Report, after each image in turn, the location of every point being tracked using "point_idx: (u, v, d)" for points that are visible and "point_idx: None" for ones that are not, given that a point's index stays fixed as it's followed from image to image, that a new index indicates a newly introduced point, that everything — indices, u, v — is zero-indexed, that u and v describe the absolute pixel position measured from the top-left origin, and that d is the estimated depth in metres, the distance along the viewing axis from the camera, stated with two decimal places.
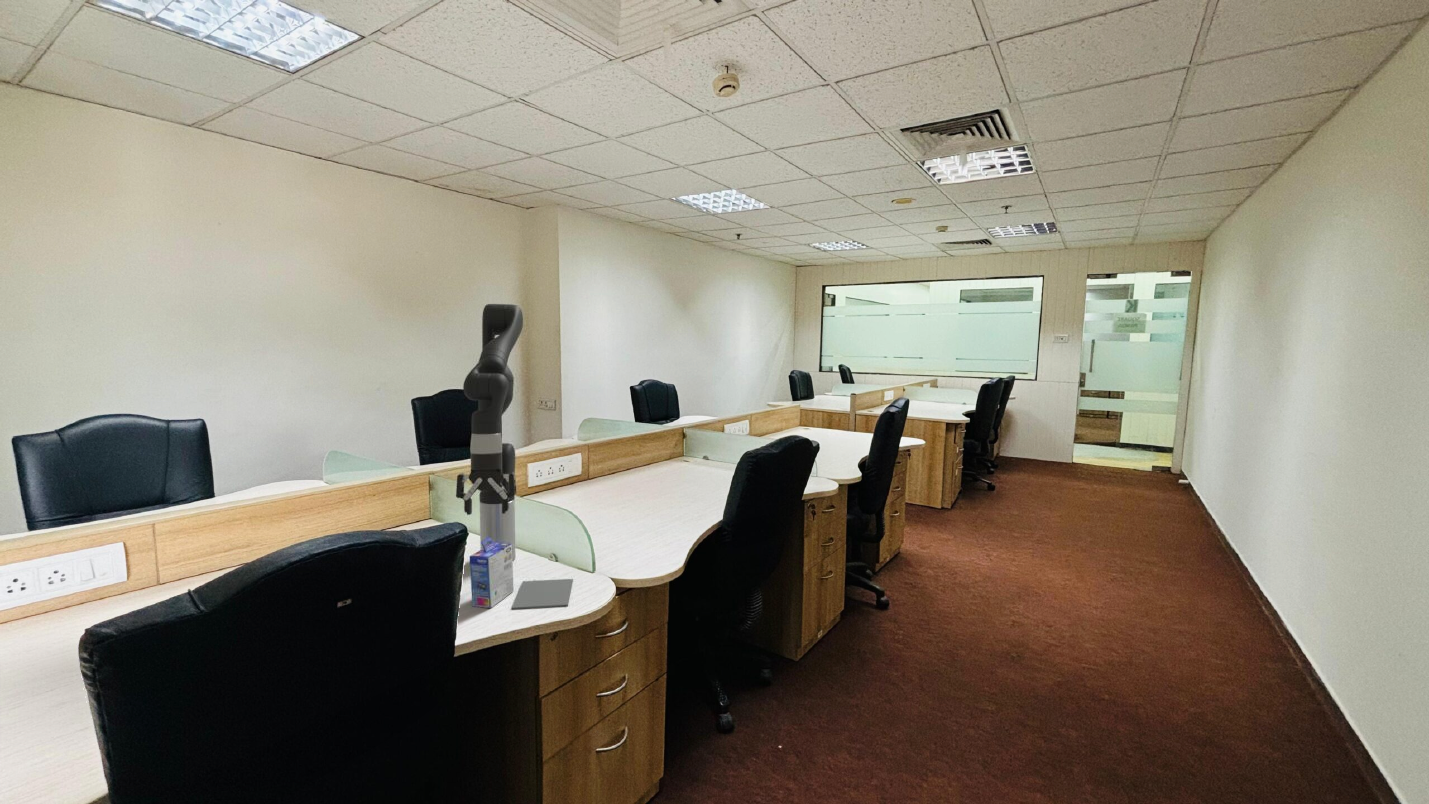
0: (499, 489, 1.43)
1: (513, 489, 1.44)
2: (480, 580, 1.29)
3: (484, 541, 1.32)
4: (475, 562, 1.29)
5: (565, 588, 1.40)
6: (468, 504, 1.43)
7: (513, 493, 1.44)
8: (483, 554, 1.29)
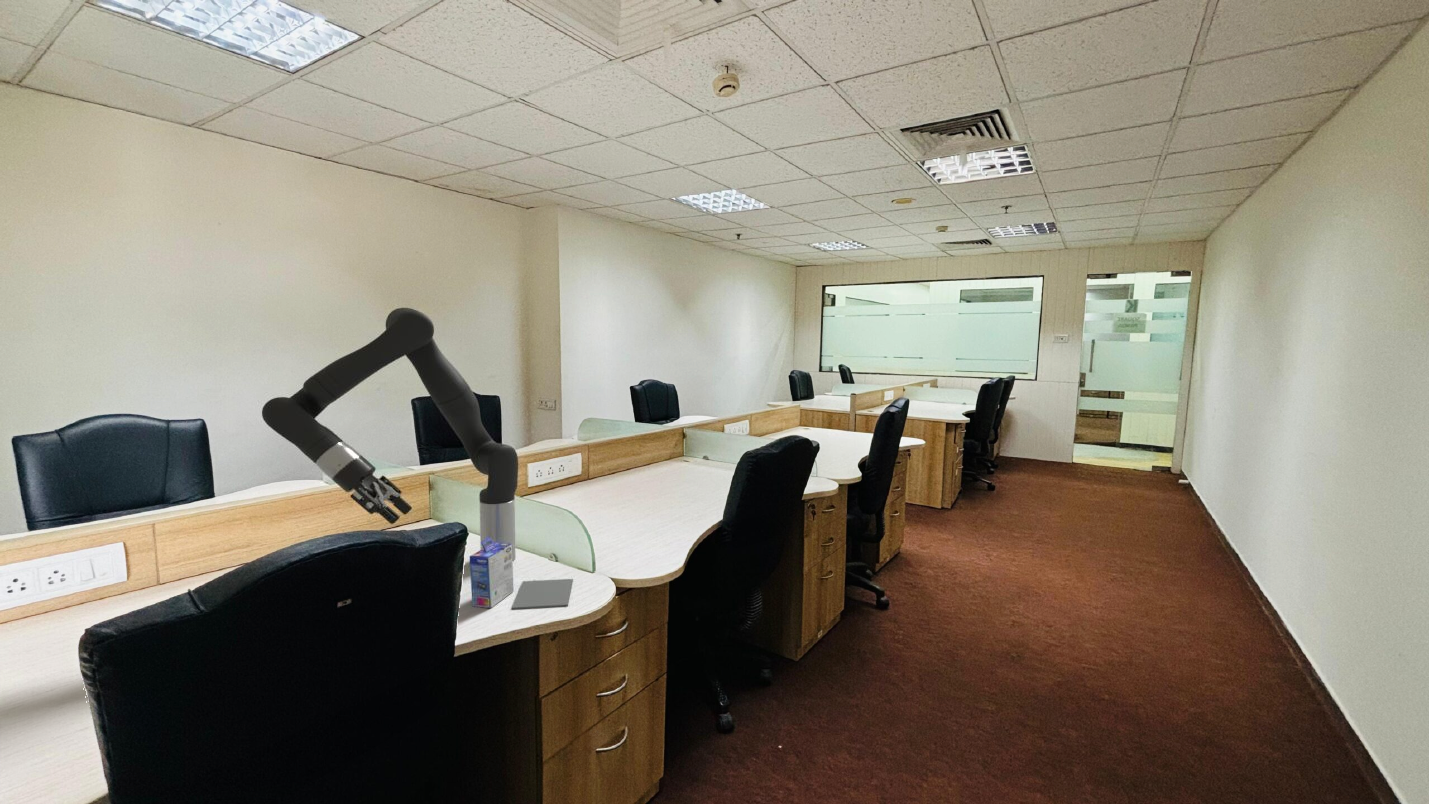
0: None
1: None
2: (480, 580, 1.29)
3: (484, 541, 1.32)
4: (475, 562, 1.29)
5: (565, 588, 1.40)
6: None
7: None
8: (483, 554, 1.29)
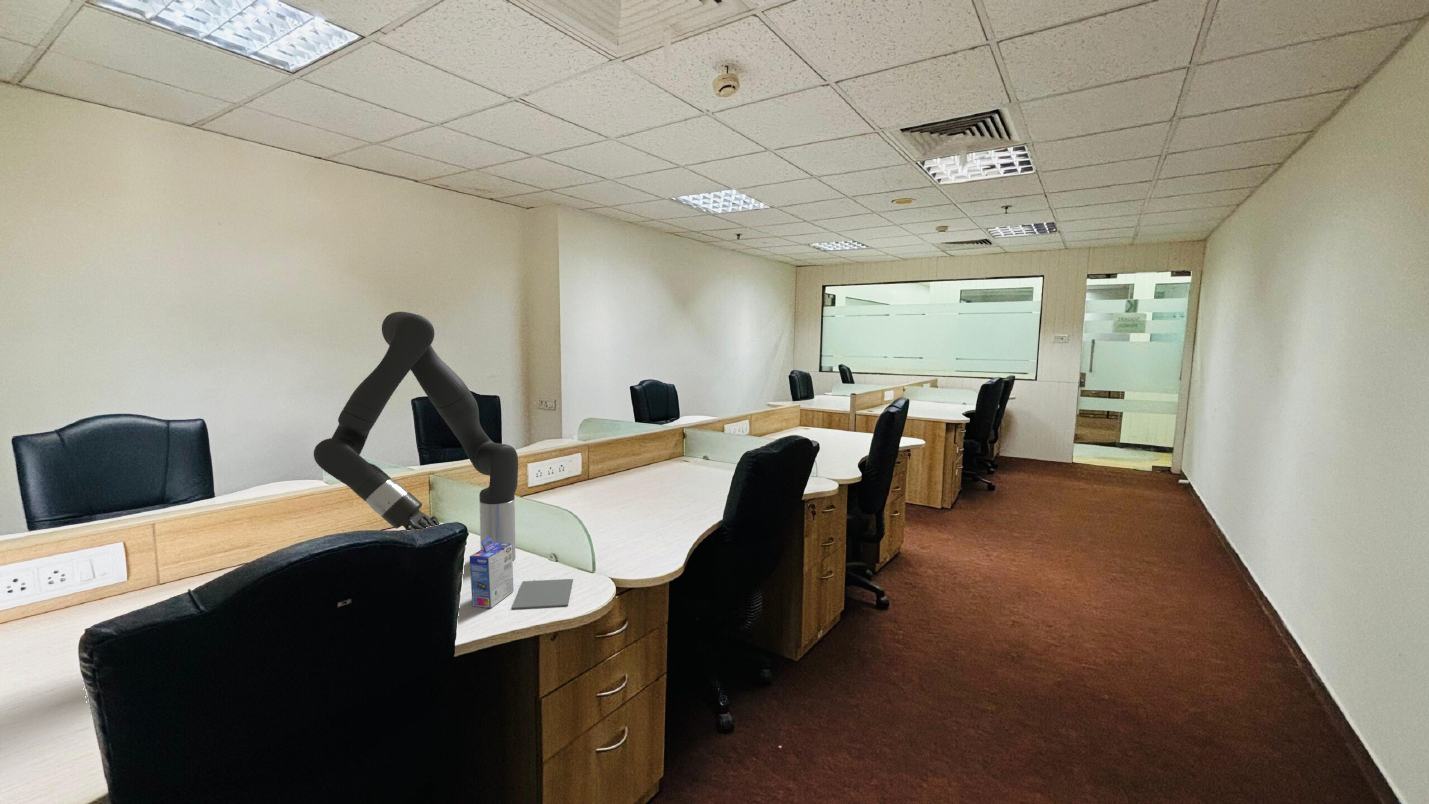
0: None
1: None
2: (480, 580, 1.29)
3: (484, 541, 1.32)
4: (475, 562, 1.29)
5: (565, 588, 1.40)
6: None
7: None
8: (484, 554, 1.29)
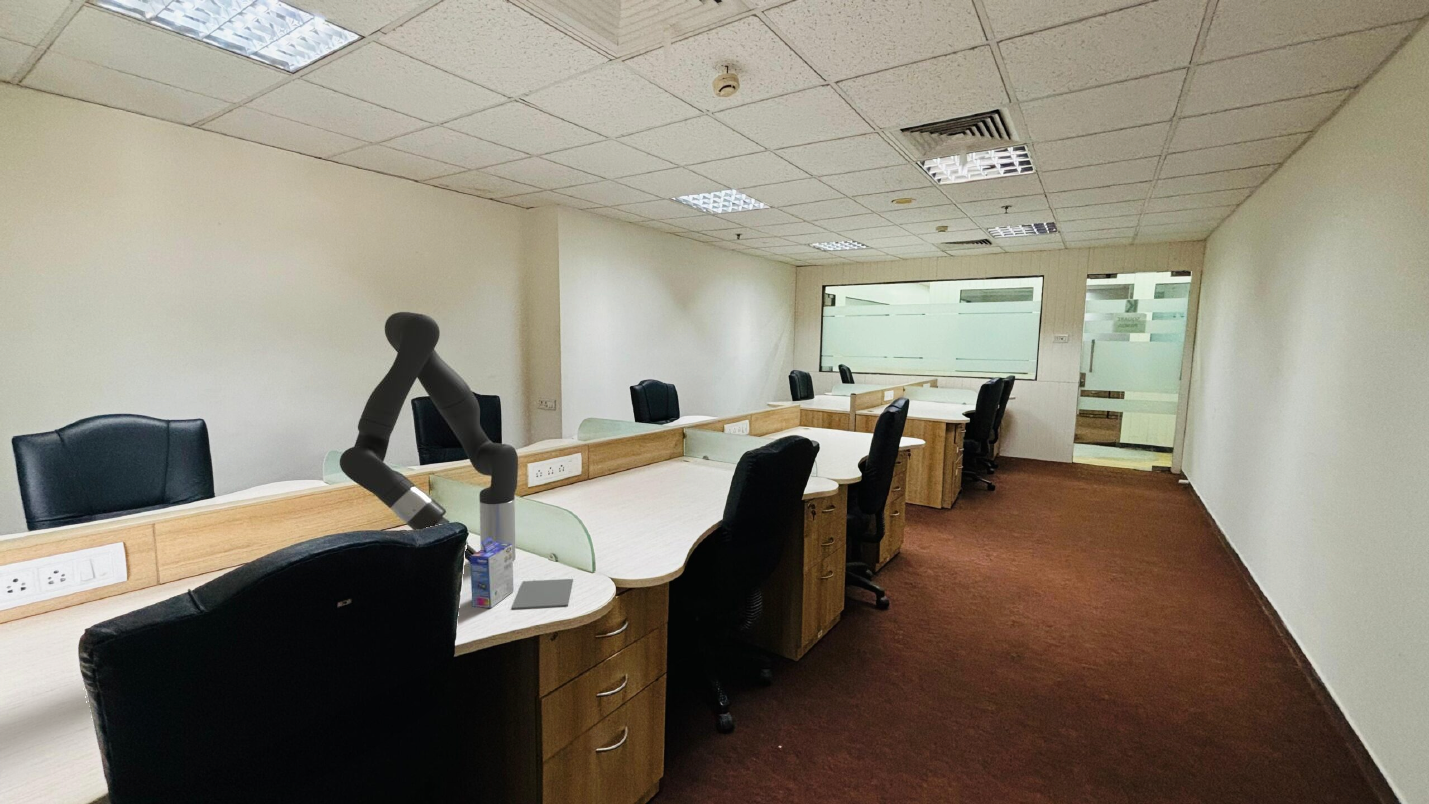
0: None
1: None
2: (480, 580, 1.29)
3: (484, 541, 1.32)
4: (476, 562, 1.29)
5: (565, 588, 1.40)
6: None
7: None
8: (484, 554, 1.29)
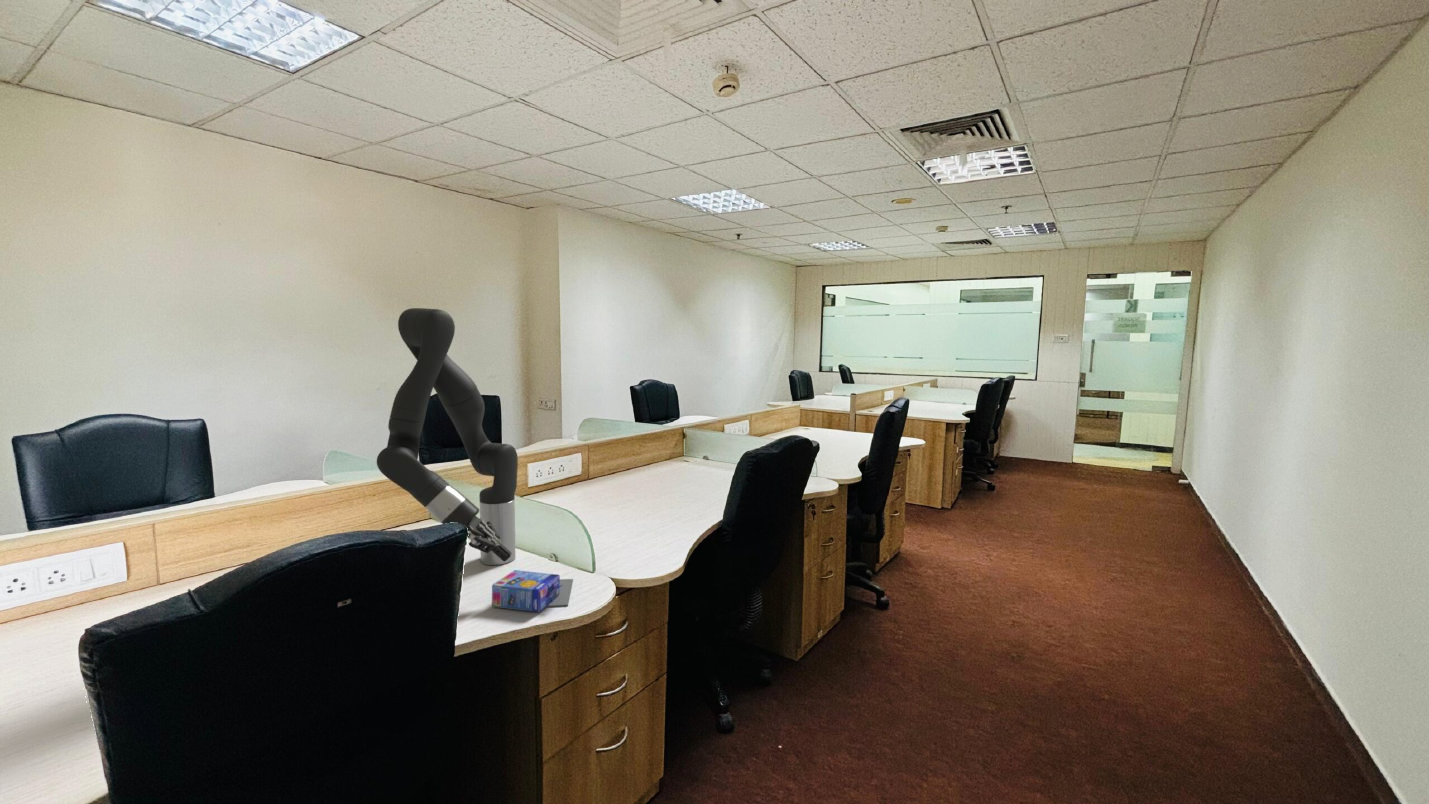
0: None
1: None
2: (517, 600, 1.27)
3: (556, 590, 1.30)
4: (534, 597, 1.26)
5: (565, 588, 1.40)
6: None
7: None
8: (542, 601, 1.27)
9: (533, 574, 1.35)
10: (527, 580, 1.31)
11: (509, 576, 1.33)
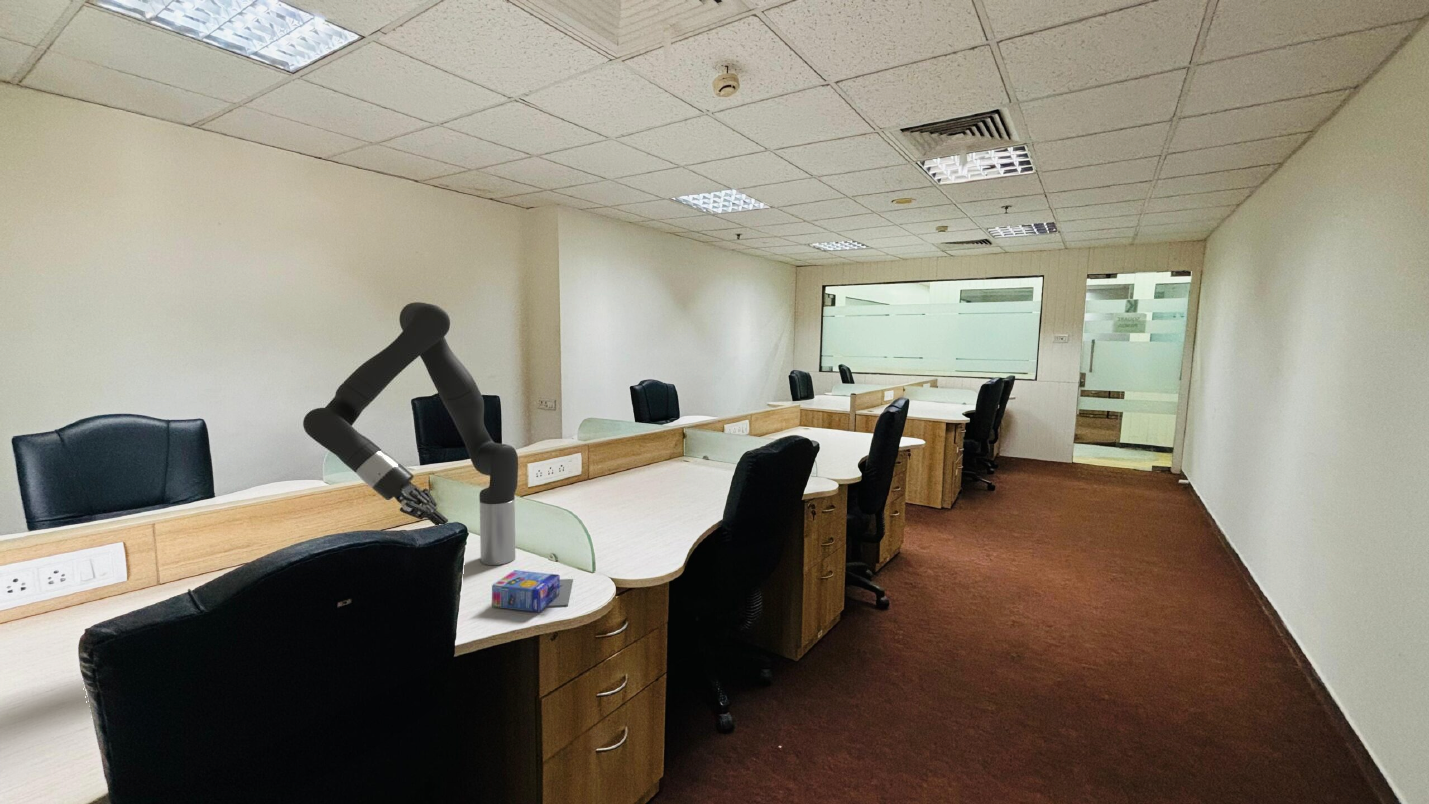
0: None
1: None
2: (517, 600, 1.27)
3: (556, 590, 1.30)
4: (534, 597, 1.26)
5: (565, 588, 1.40)
6: None
7: None
8: (542, 601, 1.27)
9: (533, 574, 1.35)
10: (527, 580, 1.31)
11: (509, 576, 1.33)
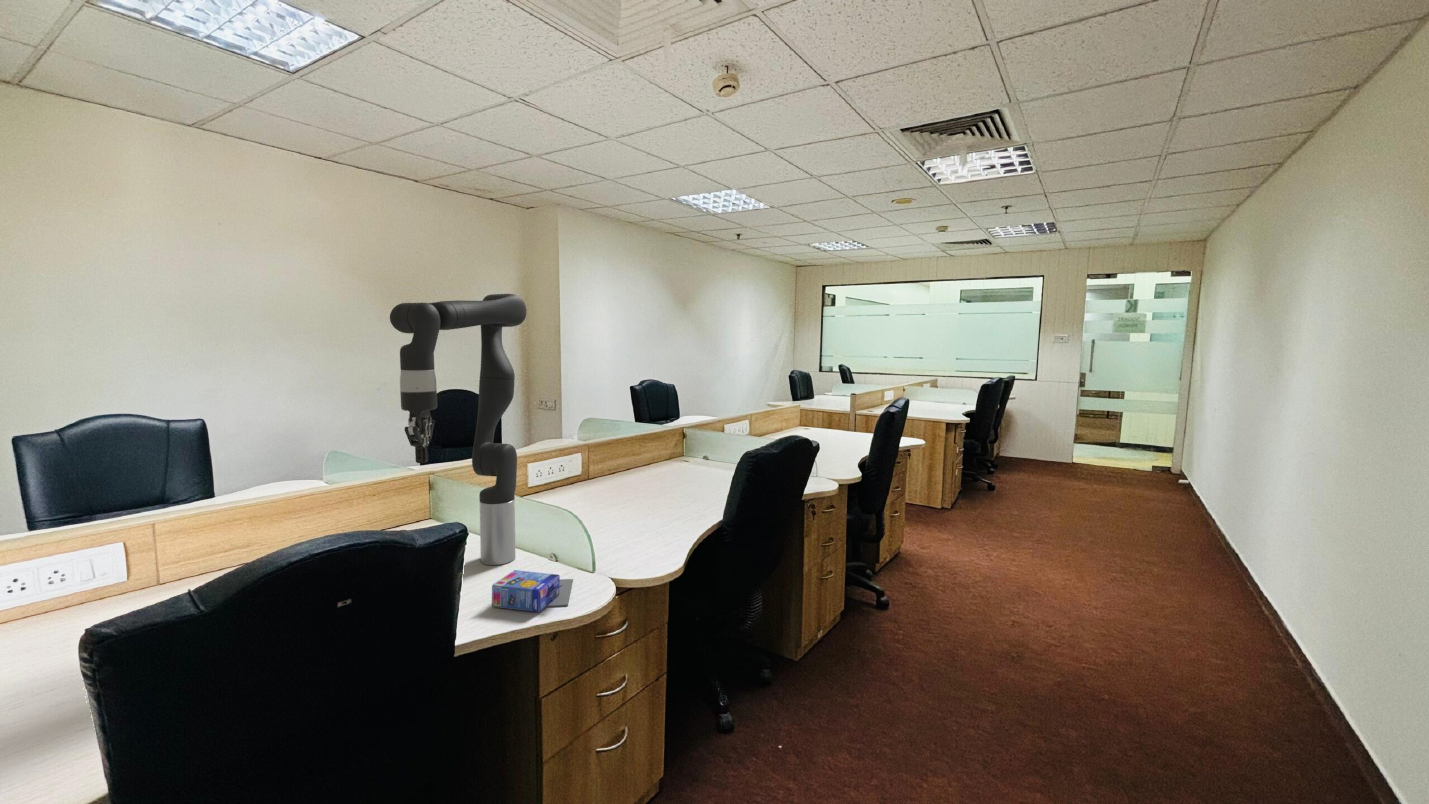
0: None
1: None
2: (517, 600, 1.27)
3: (556, 590, 1.30)
4: (534, 597, 1.26)
5: (565, 588, 1.40)
6: None
7: None
8: (542, 601, 1.27)
9: (533, 574, 1.35)
10: (527, 580, 1.31)
11: (509, 576, 1.33)
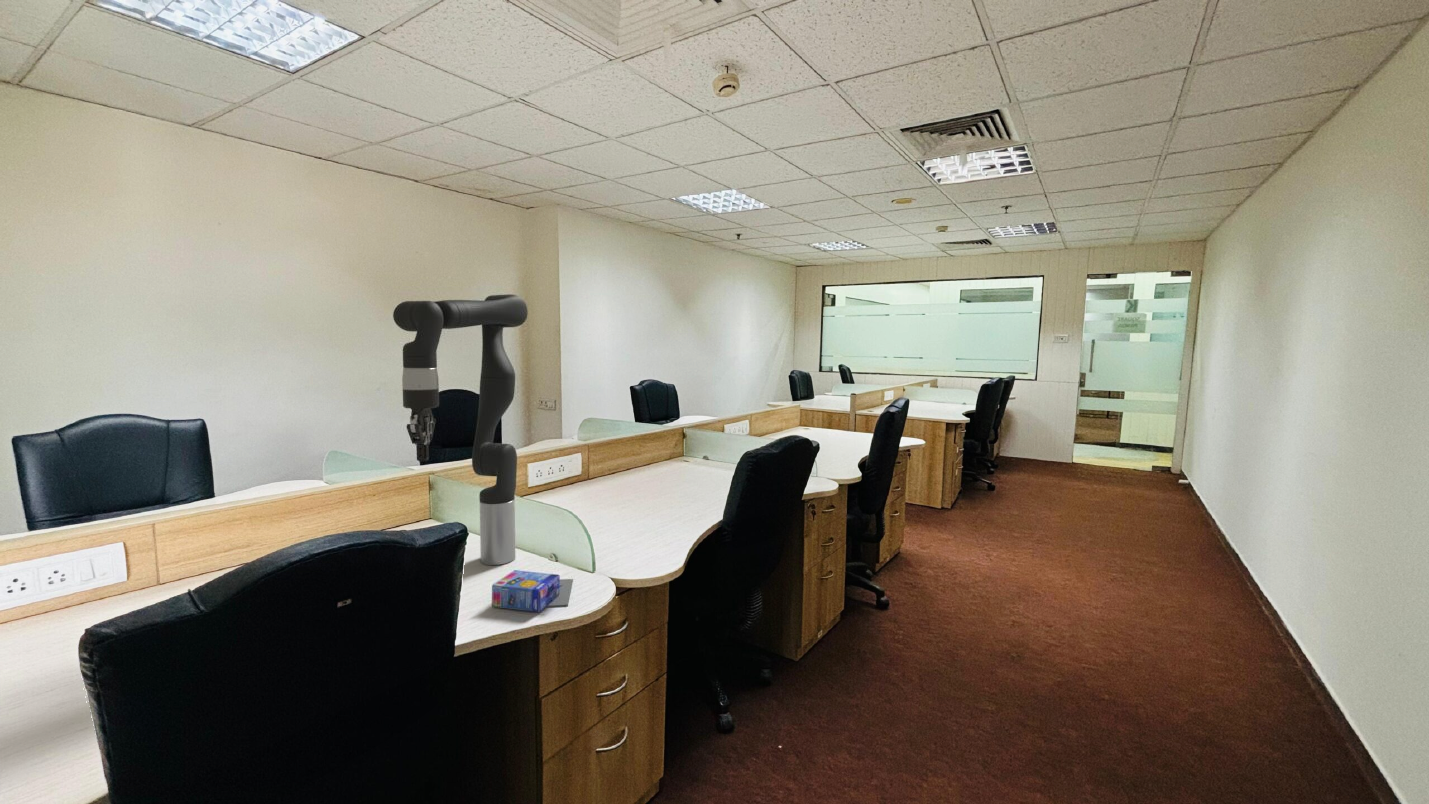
0: None
1: (411, 438, 1.28)
2: (517, 600, 1.27)
3: (556, 590, 1.30)
4: (534, 597, 1.26)
5: (565, 588, 1.40)
6: None
7: (412, 441, 1.29)
8: (542, 601, 1.27)
9: (533, 574, 1.35)
10: (527, 580, 1.31)
11: (509, 576, 1.33)
